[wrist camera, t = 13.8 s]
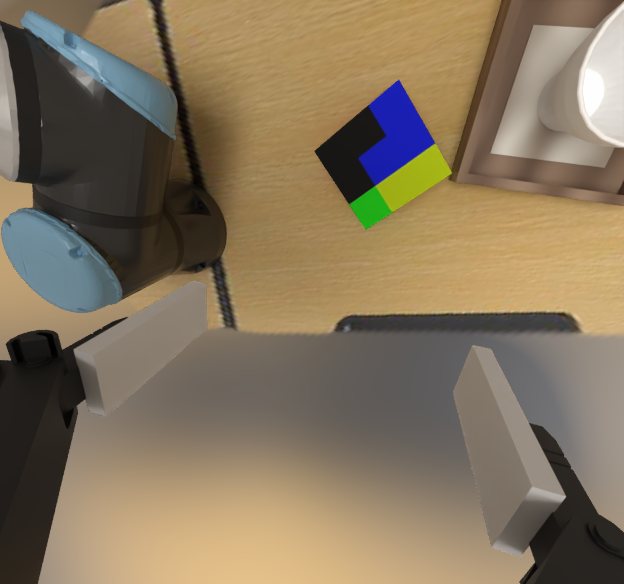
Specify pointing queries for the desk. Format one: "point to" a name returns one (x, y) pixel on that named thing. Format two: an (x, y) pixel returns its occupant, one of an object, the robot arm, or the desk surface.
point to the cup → (590, 87)
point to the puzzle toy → (383, 157)
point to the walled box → (535, 108)
